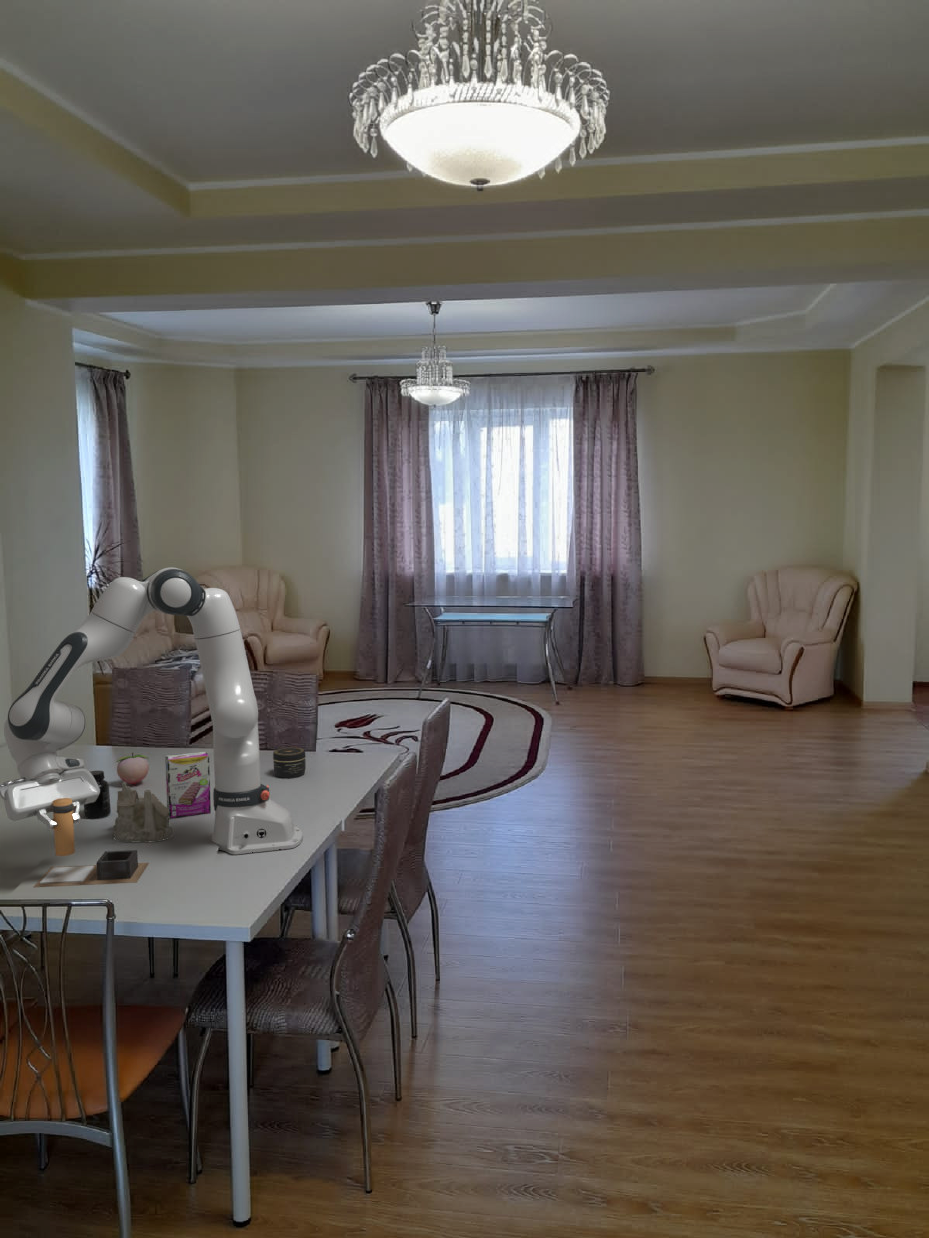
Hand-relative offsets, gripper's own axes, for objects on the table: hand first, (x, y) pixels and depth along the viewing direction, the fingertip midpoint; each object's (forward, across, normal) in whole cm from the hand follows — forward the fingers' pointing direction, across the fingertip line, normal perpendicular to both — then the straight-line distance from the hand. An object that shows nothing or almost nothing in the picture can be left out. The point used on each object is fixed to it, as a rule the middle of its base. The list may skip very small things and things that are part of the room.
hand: (65, 825), depth 217 cm
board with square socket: (+12, +4, +7) cm, 14 cm away
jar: (-14, +87, +33) cm, 94 cm away
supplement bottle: (-20, +28, +39) cm, 52 cm away
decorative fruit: (-33, +50, +52) cm, 80 cm away
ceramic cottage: (-3, +29, +22) cm, 37 cm away
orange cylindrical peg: (+4, 0, +5) cm, 7 cm away
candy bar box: (-7, +45, +26) cm, 52 cm away
